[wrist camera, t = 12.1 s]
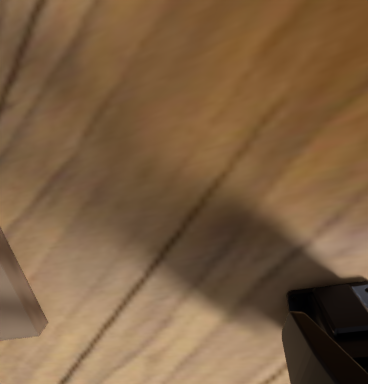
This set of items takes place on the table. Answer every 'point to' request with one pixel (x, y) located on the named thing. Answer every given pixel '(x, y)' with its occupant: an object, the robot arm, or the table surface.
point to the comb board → (17, 299)
